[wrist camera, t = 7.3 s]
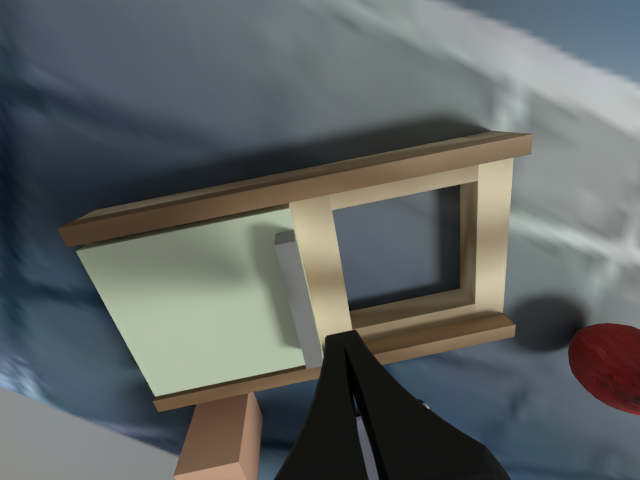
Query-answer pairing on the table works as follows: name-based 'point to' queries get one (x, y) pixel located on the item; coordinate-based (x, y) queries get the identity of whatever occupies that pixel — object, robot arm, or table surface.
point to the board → (323, 254)
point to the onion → (608, 364)
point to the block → (222, 441)
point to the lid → (209, 298)
